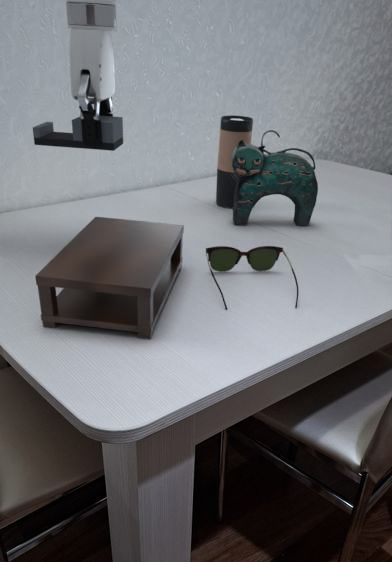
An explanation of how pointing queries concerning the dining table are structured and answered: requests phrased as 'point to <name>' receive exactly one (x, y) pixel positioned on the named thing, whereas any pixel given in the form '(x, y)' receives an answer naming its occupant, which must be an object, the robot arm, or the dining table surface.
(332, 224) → the dining table surface
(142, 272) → the coffee table
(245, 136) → the travel mug
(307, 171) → the ceramic cat
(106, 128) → the dark grey stepped block
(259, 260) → the sunglasses
